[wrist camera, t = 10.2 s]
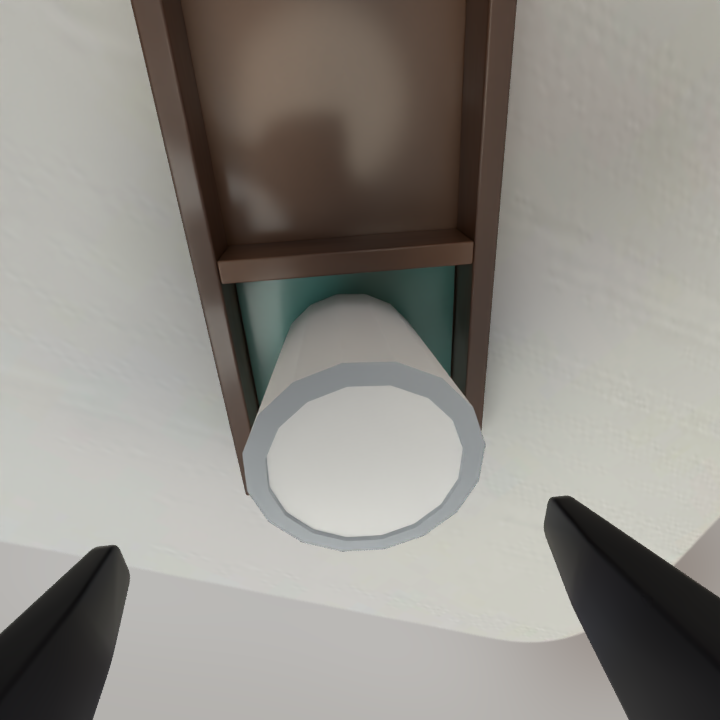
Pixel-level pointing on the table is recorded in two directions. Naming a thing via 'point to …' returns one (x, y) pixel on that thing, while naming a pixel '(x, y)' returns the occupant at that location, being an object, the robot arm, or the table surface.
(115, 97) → the table surface
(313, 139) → the holder
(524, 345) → the table surface
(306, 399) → the white cup
